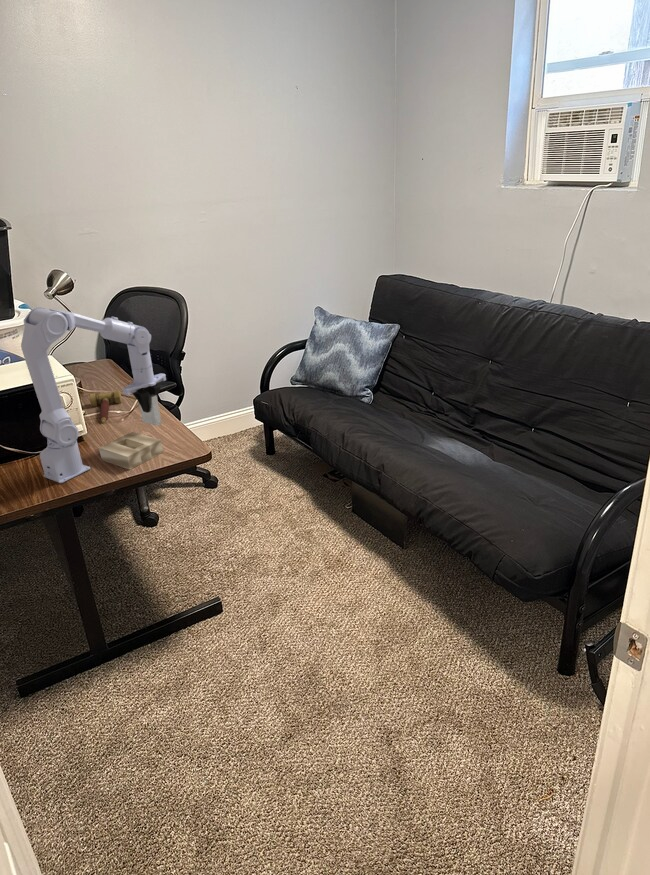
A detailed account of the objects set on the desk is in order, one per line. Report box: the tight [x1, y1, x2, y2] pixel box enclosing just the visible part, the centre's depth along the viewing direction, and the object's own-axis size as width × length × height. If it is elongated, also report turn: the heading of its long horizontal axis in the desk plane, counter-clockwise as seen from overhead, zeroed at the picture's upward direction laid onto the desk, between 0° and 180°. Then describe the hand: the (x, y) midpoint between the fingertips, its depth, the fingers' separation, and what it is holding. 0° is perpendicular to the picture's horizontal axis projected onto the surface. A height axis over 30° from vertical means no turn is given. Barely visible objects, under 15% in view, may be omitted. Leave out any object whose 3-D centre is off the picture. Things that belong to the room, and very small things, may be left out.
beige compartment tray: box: [98, 431, 164, 471], centre depth 172 cm, size 12×12×4 cm
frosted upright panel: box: [139, 393, 162, 427], centre depth 180 cm, size 2×6×9 cm, turn 56°
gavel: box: [89, 389, 123, 424], centre depth 205 cm, size 21×5×10 cm
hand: (149, 410), depth 180 cm, fingers closed on frosted upright panel, 2 cm apart
